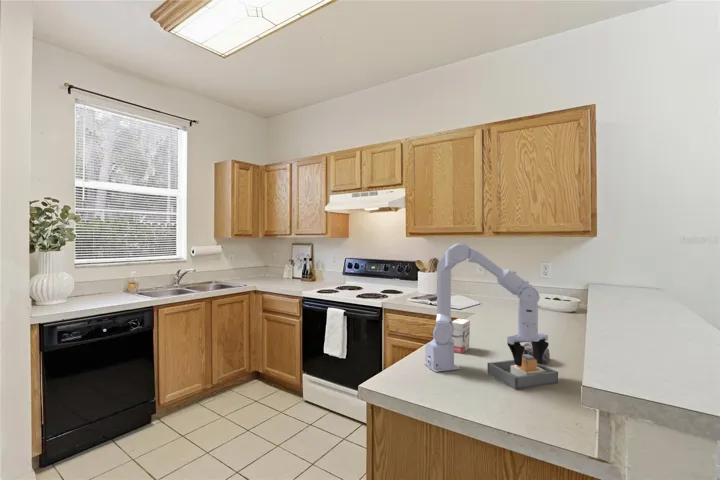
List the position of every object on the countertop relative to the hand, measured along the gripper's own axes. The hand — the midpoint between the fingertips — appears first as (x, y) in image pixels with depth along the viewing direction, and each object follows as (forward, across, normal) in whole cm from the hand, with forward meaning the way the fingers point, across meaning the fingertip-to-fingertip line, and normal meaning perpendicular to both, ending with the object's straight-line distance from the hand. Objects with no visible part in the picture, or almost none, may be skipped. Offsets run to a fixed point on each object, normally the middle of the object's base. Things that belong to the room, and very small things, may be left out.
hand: (527, 364), depth 110 cm
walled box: (+4, -2, 0) cm, 5 cm away
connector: (+4, 0, 0) cm, 4 cm away
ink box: (+5, -5, +30) cm, 31 cm away
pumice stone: (+4, +14, +12) cm, 19 cm away
